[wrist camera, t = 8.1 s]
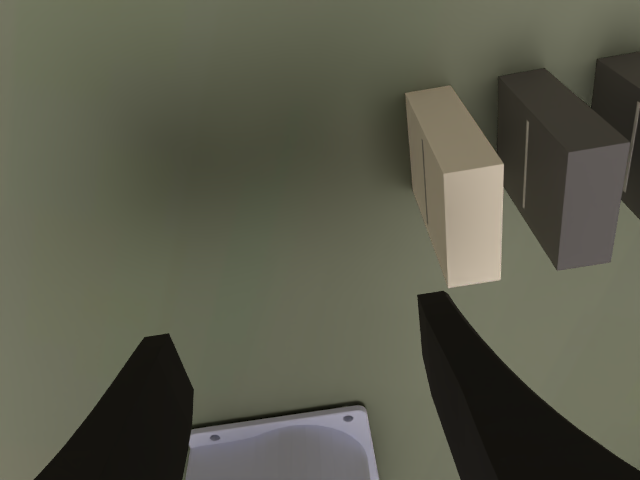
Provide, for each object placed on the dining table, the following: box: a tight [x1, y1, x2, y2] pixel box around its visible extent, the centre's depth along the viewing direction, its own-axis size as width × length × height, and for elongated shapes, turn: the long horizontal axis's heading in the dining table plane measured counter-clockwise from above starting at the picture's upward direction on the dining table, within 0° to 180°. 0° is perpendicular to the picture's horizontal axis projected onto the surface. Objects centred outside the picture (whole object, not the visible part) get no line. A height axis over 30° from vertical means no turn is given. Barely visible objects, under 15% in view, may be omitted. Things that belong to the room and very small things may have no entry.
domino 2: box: [497, 68, 630, 271], centre depth 18 cm, size 2×4×6 cm, turn 9°
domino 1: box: [405, 85, 504, 288], centre depth 19 cm, size 2×4×6 cm, turn 9°
